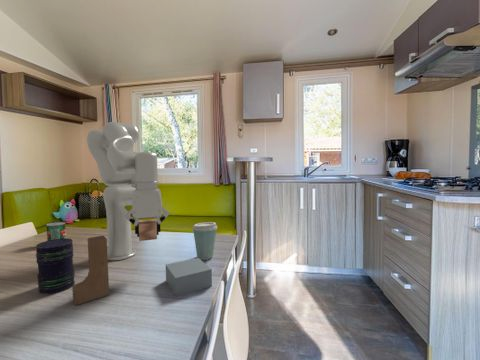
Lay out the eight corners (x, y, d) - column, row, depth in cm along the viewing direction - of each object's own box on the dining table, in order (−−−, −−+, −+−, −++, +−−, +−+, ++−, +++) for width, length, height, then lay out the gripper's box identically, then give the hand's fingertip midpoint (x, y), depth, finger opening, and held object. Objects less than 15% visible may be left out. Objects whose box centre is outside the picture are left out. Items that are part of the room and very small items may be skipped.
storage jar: (45, 297, 76) (43, 249, 75) (32, 289, 81) (30, 244, 80) (80, 284, 84) (78, 241, 83) (67, 277, 89) (64, 236, 88)
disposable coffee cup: (187, 259, 105) (186, 224, 105) (202, 251, 115) (202, 219, 114) (208, 263, 101) (207, 227, 100) (222, 255, 110) (221, 221, 109)
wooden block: (74, 306, 71) (71, 244, 70) (72, 299, 74) (69, 240, 73) (109, 295, 77) (106, 238, 76) (106, 289, 80) (103, 235, 79)
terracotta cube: (139, 241, 88) (138, 224, 87) (139, 236, 93) (139, 220, 93) (157, 239, 90) (156, 222, 89) (156, 234, 95) (156, 219, 95)
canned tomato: (69, 243, 129) (68, 222, 128) (51, 248, 122) (50, 226, 121) (62, 241, 133) (61, 221, 132) (44, 245, 126) (43, 224, 126)
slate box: (175, 297, 76) (175, 278, 75) (166, 281, 86) (165, 264, 86) (211, 287, 82) (211, 269, 82) (198, 273, 92) (198, 257, 92)
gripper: (119, 188, 83) (121, 240, 85) (172, 186, 90) (173, 235, 91) (121, 186, 90) (123, 234, 92) (170, 184, 97) (171, 230, 98)
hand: (148, 234), depth 91 cm, fingers closed on terracotta cube, 6 cm apart
